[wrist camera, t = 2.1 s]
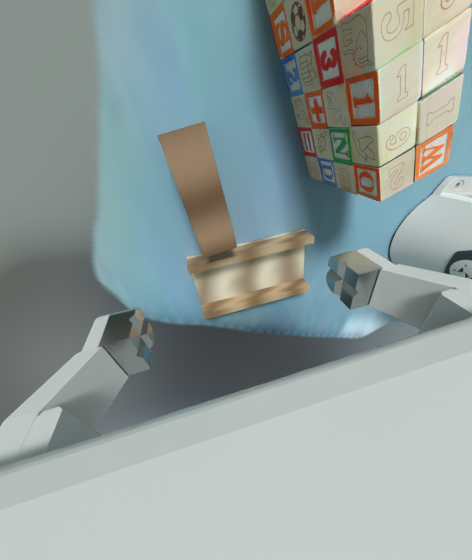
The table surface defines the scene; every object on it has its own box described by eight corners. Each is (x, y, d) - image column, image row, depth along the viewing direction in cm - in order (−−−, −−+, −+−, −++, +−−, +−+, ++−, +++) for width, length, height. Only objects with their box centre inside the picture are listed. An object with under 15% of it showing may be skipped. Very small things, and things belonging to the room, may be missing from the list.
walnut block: (161, 134, 22) (157, 135, 17) (198, 124, 22) (204, 121, 17) (199, 237, 29) (204, 258, 24) (227, 228, 29) (237, 247, 24)
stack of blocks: (236, -99, 15) (344, -516, 5) (313, -162, 15) (594, -762, 5) (309, 179, 28) (382, 204, 18) (353, 152, 27) (452, 163, 18)
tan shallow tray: (303, 228, 32) (314, 236, 29) (301, 280, 38) (309, 291, 35) (186, 257, 30) (187, 268, 28) (203, 306, 36) (205, 319, 34)
